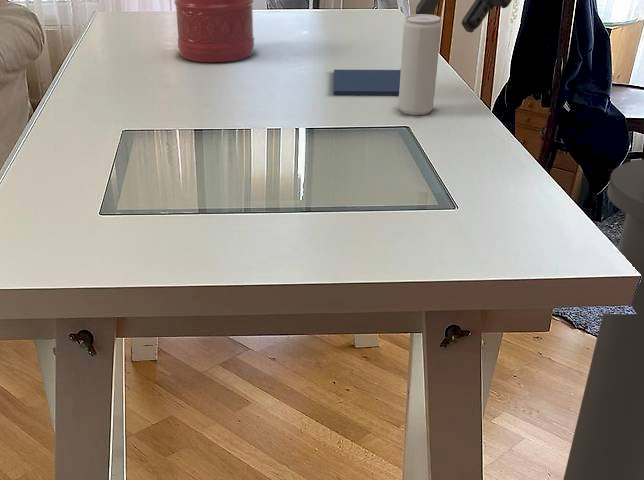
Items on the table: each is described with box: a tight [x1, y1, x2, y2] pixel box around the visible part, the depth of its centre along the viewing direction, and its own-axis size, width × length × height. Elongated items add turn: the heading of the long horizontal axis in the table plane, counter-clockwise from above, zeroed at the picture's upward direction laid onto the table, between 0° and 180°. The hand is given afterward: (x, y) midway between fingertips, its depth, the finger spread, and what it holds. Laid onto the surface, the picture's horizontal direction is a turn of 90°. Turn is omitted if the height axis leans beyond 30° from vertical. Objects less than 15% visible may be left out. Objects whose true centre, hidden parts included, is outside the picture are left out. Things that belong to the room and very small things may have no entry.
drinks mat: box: [333, 69, 401, 96], centre depth 127 cm, size 12×12×1 cm
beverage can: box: [397, 13, 442, 116], centre depth 112 cm, size 5×5×12 cm
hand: (442, 22), depth 112 cm, fingers open, 8 cm apart
